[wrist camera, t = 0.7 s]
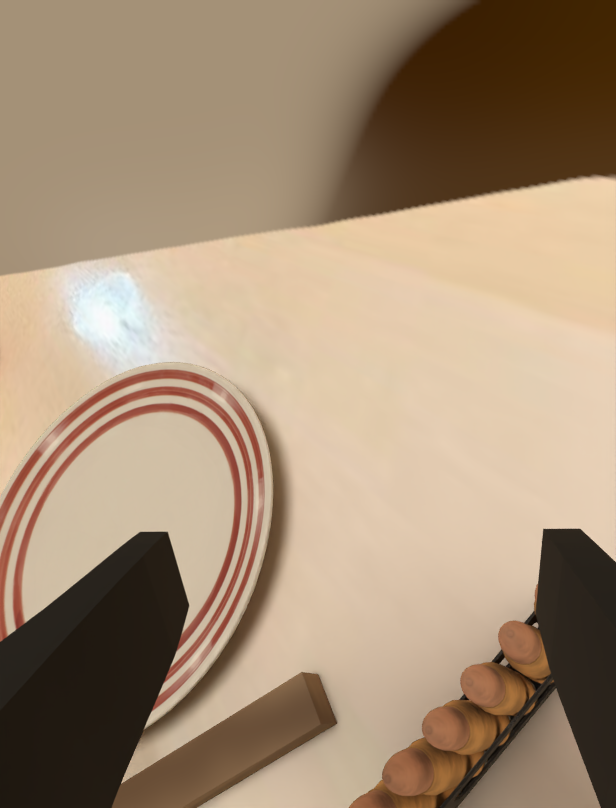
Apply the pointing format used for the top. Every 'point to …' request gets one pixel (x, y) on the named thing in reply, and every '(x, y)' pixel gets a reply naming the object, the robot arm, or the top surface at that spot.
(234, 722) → the guide rails
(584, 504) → the top surface
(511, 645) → the ammunition clip
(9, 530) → the dinner plate
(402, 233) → the top surface
